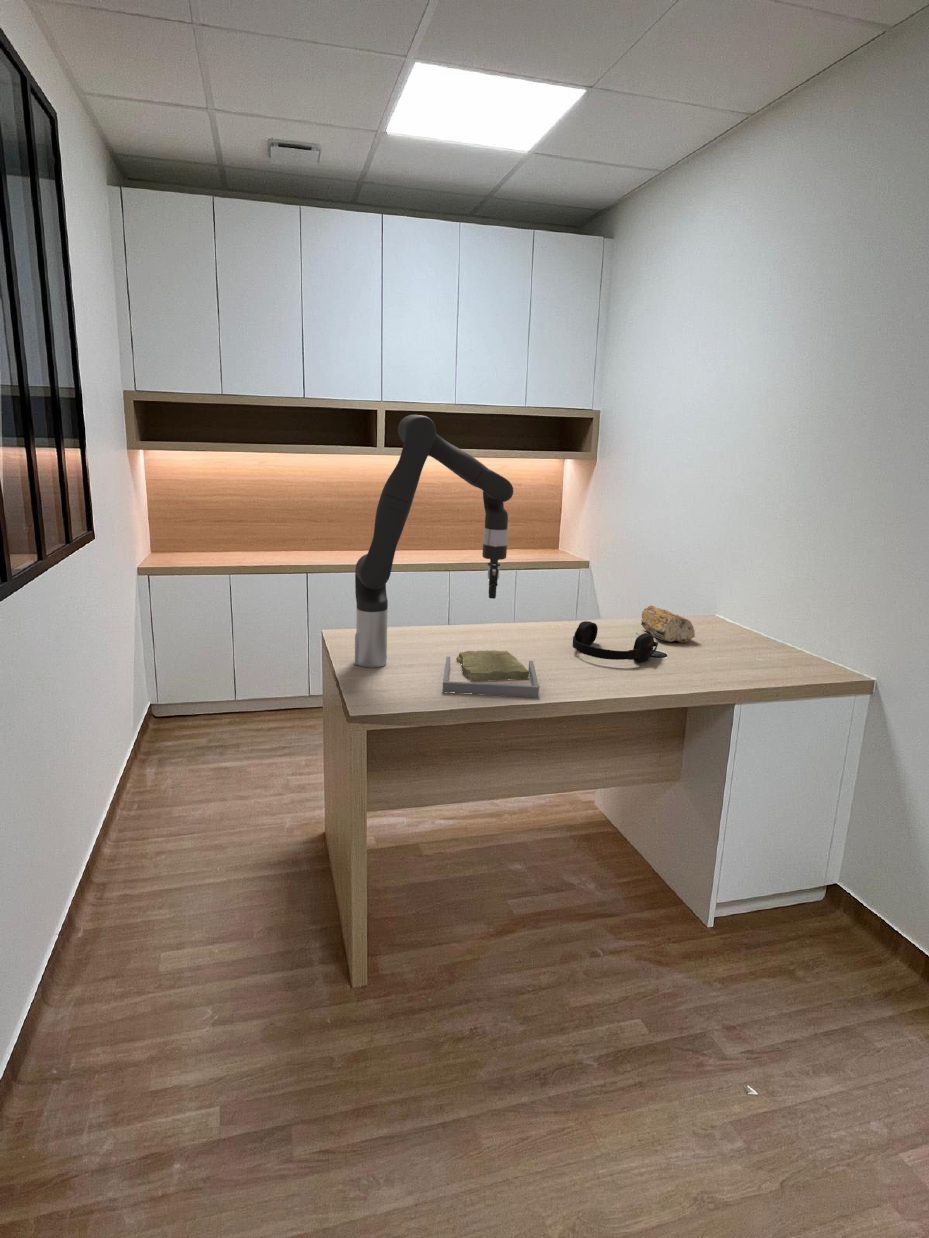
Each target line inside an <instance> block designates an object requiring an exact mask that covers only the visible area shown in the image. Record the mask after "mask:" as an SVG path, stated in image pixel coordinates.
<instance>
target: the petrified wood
mask: <svg viewBox="0 0 929 1238" xmlns="http://www.w3.org/2000/svg"><path fill="white" fill-rule="evenodd" d="M640 621H641V623H640V625H641V626H642V628H643V629H644V630H645V631H647V632H648V633H649V634H652V635H653V638H656V639H659V640H661V641H665V642H674V641H676V642H679V643H681V644H684V643H686V642H689V641H691V640H692V639H693V638H695V637H696V635H695V633H696V632H695V627H694V625H693V623H692V621H691V620H689V619H687V618H685V617H683V616H680V615H679V614H674V613H673V612H671V611H669V610H667V609H662V608H658V607H656V606H654V605H648V607H646V608H643V611H642V613H641V619H640Z"/></svg>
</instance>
